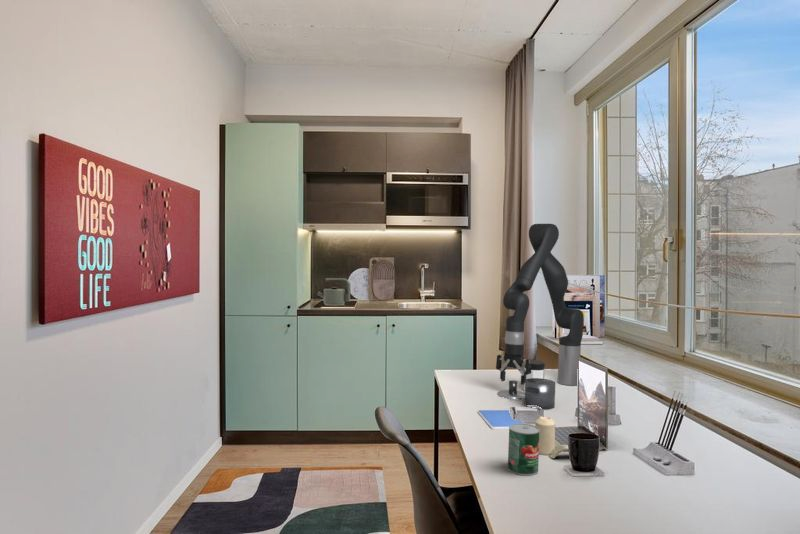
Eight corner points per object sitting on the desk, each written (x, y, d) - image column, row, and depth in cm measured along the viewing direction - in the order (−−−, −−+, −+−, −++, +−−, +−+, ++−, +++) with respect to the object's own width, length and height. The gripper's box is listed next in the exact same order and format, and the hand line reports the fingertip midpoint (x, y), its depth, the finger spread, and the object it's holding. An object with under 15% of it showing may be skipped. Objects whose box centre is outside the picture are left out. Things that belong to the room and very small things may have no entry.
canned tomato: (533, 478, 136) (535, 435, 136) (503, 471, 140) (504, 429, 140) (541, 467, 143) (543, 426, 143) (512, 461, 147) (514, 421, 147)
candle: (554, 449, 157) (555, 415, 156) (553, 456, 151) (554, 421, 151) (535, 447, 158) (536, 413, 158) (533, 453, 153) (534, 418, 153)
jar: (548, 391, 223) (549, 362, 223) (536, 394, 218) (537, 365, 218) (530, 387, 230) (531, 359, 230) (518, 389, 225) (519, 361, 225)
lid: (506, 390, 224) (506, 376, 224) (533, 396, 217) (533, 381, 217) (492, 396, 215) (492, 381, 215) (519, 402, 207) (520, 386, 207)
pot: (534, 398, 212) (535, 375, 212) (561, 404, 205) (562, 380, 205) (516, 406, 200) (517, 382, 199) (544, 412, 193) (545, 387, 193)
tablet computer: (476, 413, 193) (476, 409, 192) (510, 412, 194) (510, 409, 194) (491, 431, 173) (491, 427, 173) (529, 430, 175) (529, 426, 175)
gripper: (535, 343, 214) (533, 384, 214) (502, 339, 222) (501, 378, 223) (526, 345, 208) (525, 387, 208) (494, 341, 216) (492, 381, 217)
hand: (512, 382), depth 215 cm, fingers open, 8 cm apart
